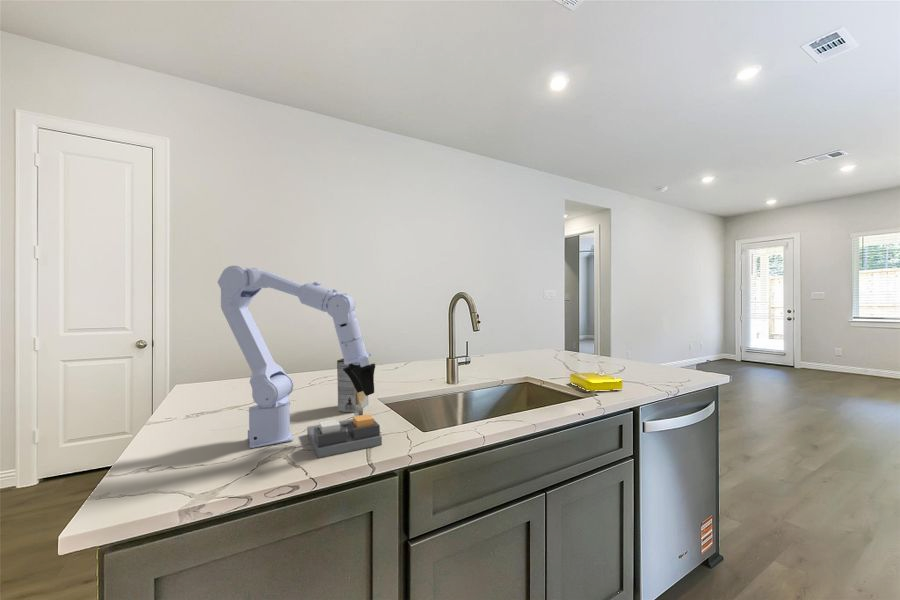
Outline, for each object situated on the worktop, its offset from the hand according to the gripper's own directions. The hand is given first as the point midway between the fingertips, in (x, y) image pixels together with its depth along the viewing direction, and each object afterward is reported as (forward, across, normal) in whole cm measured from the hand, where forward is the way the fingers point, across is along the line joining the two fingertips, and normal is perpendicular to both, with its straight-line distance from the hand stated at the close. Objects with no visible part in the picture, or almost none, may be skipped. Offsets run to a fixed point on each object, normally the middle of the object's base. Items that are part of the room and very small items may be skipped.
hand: (365, 392), depth 93 cm
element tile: (+32, +9, -88) cm, 94 cm away
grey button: (+5, -1, +11) cm, 12 cm away
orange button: (+7, -1, +3) cm, 8 cm away
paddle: (+8, +7, +2) cm, 11 cm away
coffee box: (+9, +28, -2) cm, 30 cm away
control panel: (+10, +4, +8) cm, 13 cm away
